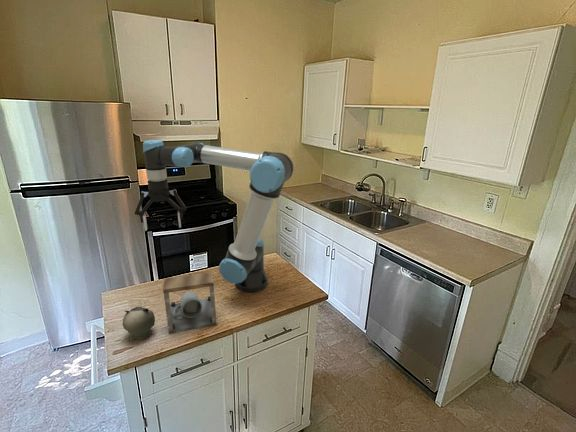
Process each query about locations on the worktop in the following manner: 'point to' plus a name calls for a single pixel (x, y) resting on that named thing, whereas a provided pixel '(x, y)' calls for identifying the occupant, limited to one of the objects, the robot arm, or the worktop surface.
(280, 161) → the robot arm
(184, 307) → the ceramic mug
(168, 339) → the worktop surface
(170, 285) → the shelf
